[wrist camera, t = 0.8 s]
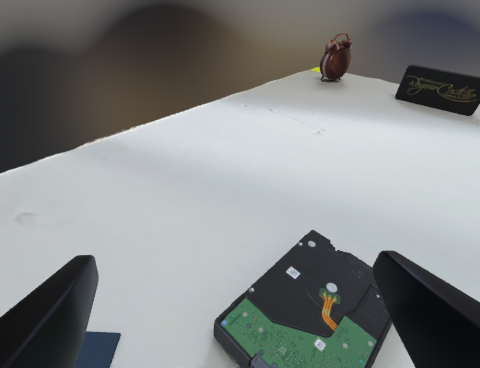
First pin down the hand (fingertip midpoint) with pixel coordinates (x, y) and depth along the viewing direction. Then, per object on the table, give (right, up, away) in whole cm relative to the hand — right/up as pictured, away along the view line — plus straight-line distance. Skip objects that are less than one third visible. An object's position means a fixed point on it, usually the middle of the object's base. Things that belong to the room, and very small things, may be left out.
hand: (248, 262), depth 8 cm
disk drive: (+6, -10, +15) cm, 19 cm away
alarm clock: (+32, +40, +88) cm, 102 cm away
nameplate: (+58, +26, +73) cm, 97 cm away
